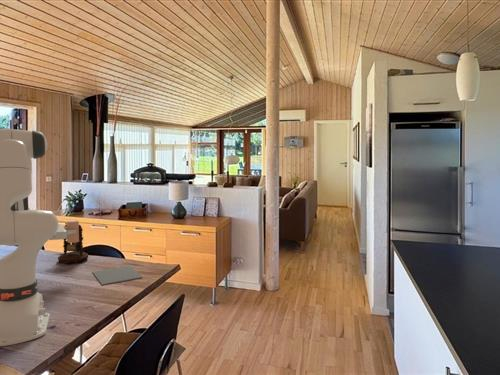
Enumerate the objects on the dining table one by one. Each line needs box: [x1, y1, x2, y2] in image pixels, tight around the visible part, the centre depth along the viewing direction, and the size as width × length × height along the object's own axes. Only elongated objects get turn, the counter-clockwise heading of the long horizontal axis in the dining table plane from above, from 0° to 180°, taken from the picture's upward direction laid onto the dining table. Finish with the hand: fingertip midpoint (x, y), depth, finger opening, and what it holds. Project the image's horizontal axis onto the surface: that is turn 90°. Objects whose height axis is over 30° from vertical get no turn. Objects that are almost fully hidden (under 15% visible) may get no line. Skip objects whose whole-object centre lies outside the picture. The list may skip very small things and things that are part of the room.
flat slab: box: [92, 265, 143, 286], centre depth 171 cm, size 20×18×1 cm
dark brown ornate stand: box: [57, 223, 89, 264], centre depth 192 cm, size 15×15×20 cm
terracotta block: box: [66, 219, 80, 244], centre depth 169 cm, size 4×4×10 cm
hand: (74, 229), depth 170 cm, fingers closed on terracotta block, 4 cm apart
